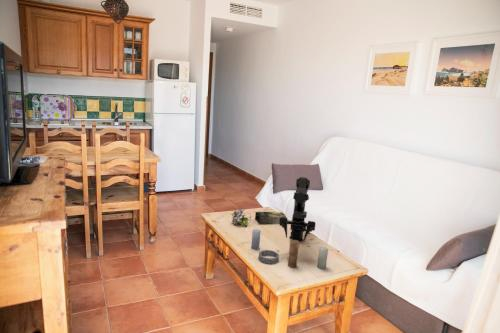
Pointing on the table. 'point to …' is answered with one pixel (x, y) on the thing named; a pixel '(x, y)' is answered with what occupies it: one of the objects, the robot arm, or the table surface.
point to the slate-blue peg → (255, 239)
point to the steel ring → (268, 260)
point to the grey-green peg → (322, 257)
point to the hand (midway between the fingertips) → (295, 238)
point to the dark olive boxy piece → (269, 217)
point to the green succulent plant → (240, 217)
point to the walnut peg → (293, 253)
